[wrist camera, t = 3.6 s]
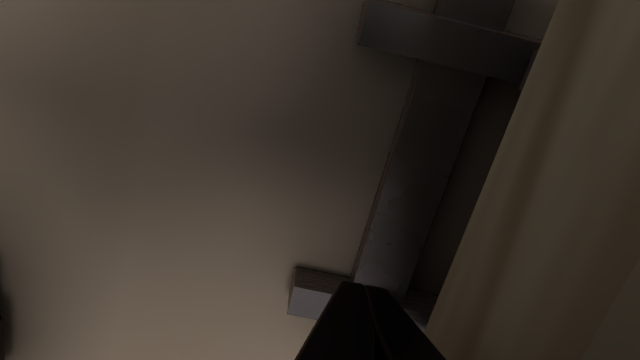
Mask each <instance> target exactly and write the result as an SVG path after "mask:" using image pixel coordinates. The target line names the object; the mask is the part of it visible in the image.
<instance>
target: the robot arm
mask: <svg viewBox="0 0 640 360" xmlns="http://www.w3.org/2000/svg"><path fill="white" fill-rule="evenodd" d="M0 360H4V319H3V316H2V314H1V312H0ZM295 360H446V358H445V357H444V356H443V355H442V354H441V352H440V351H439V350H438V349H437V348H436V347H435V345H434V344H433V343H432V342H431V341H430V340H429V338H428V337H427V336H426V335H425V334H424V332H423V331H422V330H421V329H420V328H419V327H418V325H417V324H416V323H415V322H414V321H413V320H412V318H411V317H410V316H409V315H408V314H407V312H406V311H405V310H404V309H403V308H402V307H401V305H400V304H399V303H398V302H397V301H396V300H395V298H394V297H393V296H392V295H391V294H390V293H389V291H388V290H387V289H385V288H381V287H376V286H371V285H363V284H361V283H356V282H351V281H346V280H341V281H340V282H339V284H338V285H337V287H336V289H335V291H334V292H333V294H332V296H331V297H330V299H329V301H328V303H327V304H326V306H325V308H324V310H323V311H322V313H321V315H320V317H319V318H318V320H317V322H316V323H315V325H314V327H313V329H312V330H311V332H310V334H309V336H308V337H307V339H306V341H305V342H304V344H303V346H302V348H301V349H300V351H299V353H298V355H297V356H296V358H295Z"/></svg>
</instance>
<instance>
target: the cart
mask: <svg viewBox="0 0 640 360" xmlns="http://www.w3.org/2000/svg"><path fill="white" fill-rule="evenodd" d="M519 90H520V92H521V95H520V97H519V100H518V102H517V104H516V107H515V109H514V112H513V114H512V117H511V119H510V122H509V124H508V127H507V129H506V132H505V134H504V136H503V139H502V141H501V144H500V146H499V149H498V151H497V154H496V156H495V159H494V161H493V164H492V166H491V169H490V171H489V173H488V176H487V178H486V181H485V183H484V186H483V188H482V191H481V193H480V196H479V198H478V201H477V203H476V205H475V208H474V210H473V213H472V215H471V218H470V220H469V223H468V225H467V228H466V230H465V233H464V235H463V237H462V240H461V242H460V245H459V247H458V250H457V252H456V255H455V257H454V260H453V262H452V265H451V267H450V270H449V272H448V274H447V277H446V279H445V282H444V284H443V287H442V289H441V292H440V294H439V297H438V299H437V302H436V304H435V306H434V309H433V311H432V314H431V316H430V319H429V321H428V324H427V326H426V329H425V331H424V334H425V335H426V336H427V337H428V338H429V340H430V341H431V342H432V343H433V344H434V345H435V347H436V348H437V349H438V350H439V351H440V352H441V354H442V355H443V356H444V357H445V358H446V360H640V0H559V1H558V3H557V6H556V8H555V11H554V13H553V16H552V18H551V21H550V23H549V26H548V28H547V31H546V33H545V36H544V38H543V40H542V43H541V45H540V48H539V50H538V51H534V52H533V55H532V57H531V60H530V62H529V65H528V67H527V70H526V72H525V75H524V77H523V80H522V82H521V85H520V87H519Z"/></svg>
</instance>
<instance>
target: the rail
mask: <svg viewBox="0 0 640 360" xmlns="http://www.w3.org/2000/svg"><path fill="white" fill-rule="evenodd" d="M514 1H515V0H437V3H436V6H435V10H434V13H431V12H427V11H423V10H419V9H415V8H412V7H408V6H404V5H400V4H396V3H392V2H388V1H384V0H365V2H364V6H363V10H362V14H361V18H360V22H359V26H358V30H357V33H356V41H357V44H358V45H362V46H366V47H370V48H374V49H379V50H383V51H387V52H391V53H395V54H399V55H403V56H407V57H411V58H415V59H419V61H418V64H417V67H416V70H415V73H414V76H413V80H412V83H411V86H410V89H409V92H408V96H407V99H406V102H405V105H404V108H403V112H402V115H401V118H400V121H399V124H398V127H397V131H396V134H395V137H394V140H393V143H392V147H391V150H390V153H389V156H388V159H387V163H386V166H385V169H384V172H383V175H382V178H381V182H380V185H379V188H378V191H377V194H376V198H375V201H374V204H373V207H372V210H371V213H370V217H369V220H368V223H367V226H366V229H365V233H364V236H363V239H362V242H361V245H360V249H359V252H358V255H357V258H356V261H355V264H354V268H353V271H352V274H351V277H350V278H348V277H343V276H338V275H333V274H328V273H324V272H319V271H314V270H309V269H304V268H299V267H296V269H295V273H294V277H293V281H292V285H291V288H290V292H289V300H288V310H287V314H290V315H295V316H300V317H305V318H310V319H315V320H318V318H319V317H320V315H321V313H322V311H323V310H324V308H325V306H326V304H327V303H328V301H329V299H330V297H331V296H332V294H333V292H334V291H335V289H336V287H337V285H338V284H339V282H340V281H341V280H346V281H351V282H356V283H361V284H363V285H371V286H376V287H381V288H385V289H387V290H388V291H389V293H390V294H391V295H392V296H393V297H394V298H395V300H396V301H397V302H398V303H399V304H400V305H401V307H402V308H403V309H404V310H405V311H406V312H407V314H408V315H409V316H410V317H411V318H412V320H413V321H414V322H415V323H416V324H417V325H418V327H419V328H420V329H421V330H422V331H423V332H424V331H425V329H426V326H427V324H428V321H429V319H430V316H431V314H432V311H433V309H434V306H435V304H436V302H437V299H438V297H439V296H436V295H431V294H426V293H421V292H416V291H412V290H407V288H408V286H409V283H410V280H411V278H412V275H413V272H414V269H415V267H416V264H417V261H418V259H419V256H420V253H421V251H422V248H423V245H424V243H425V240H426V237H427V235H428V232H429V229H430V227H431V224H432V221H433V218H434V216H435V213H436V210H437V208H438V205H439V202H440V200H441V197H442V194H443V192H444V189H445V186H446V184H447V181H448V178H449V176H450V173H451V170H452V167H453V165H454V162H455V159H456V157H457V154H458V151H459V149H460V146H461V143H462V141H463V138H464V135H465V133H466V130H467V127H468V125H469V122H470V119H471V116H472V114H473V111H474V108H475V106H476V103H477V100H478V98H479V95H480V92H481V90H482V87H483V84H484V82H485V79H486V76H489V77H493V78H497V79H501V80H505V81H510V82H514V83H518V84H521V82H522V80H523V77H524V75H525V72H526V70H527V67H528V65H529V62H530V60H531V57H532V55H533V52H534V51H538V50H539V48H540V45H541V43H542V40H538V39H534V38H530V37H526V36H522V35H518V34H514V33H510V32H506V31H504V28H505V25H506V23H507V20H508V17H509V14H510V12H511V9H512V6H513V4H514Z"/></svg>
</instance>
